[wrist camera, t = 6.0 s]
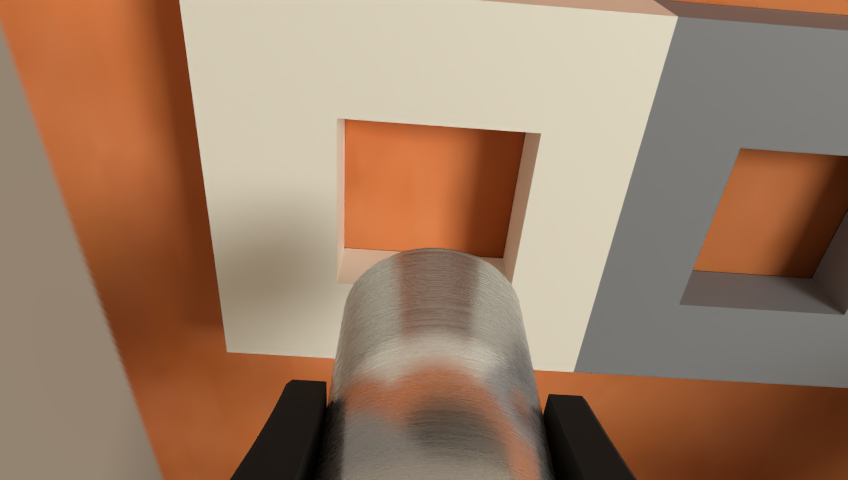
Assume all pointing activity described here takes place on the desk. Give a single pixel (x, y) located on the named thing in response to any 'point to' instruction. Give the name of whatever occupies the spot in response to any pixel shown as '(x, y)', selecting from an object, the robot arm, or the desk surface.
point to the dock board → (530, 167)
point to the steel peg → (433, 377)
